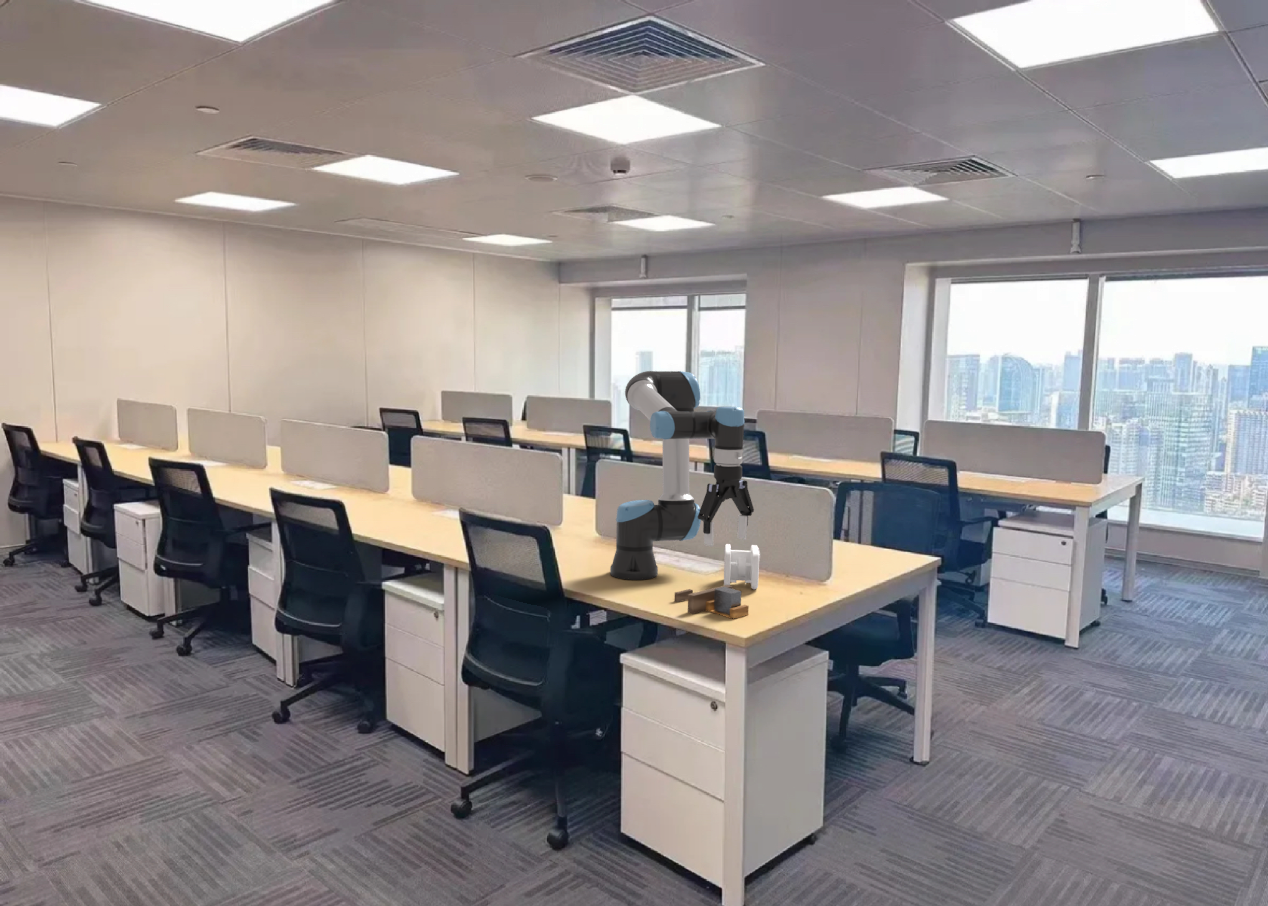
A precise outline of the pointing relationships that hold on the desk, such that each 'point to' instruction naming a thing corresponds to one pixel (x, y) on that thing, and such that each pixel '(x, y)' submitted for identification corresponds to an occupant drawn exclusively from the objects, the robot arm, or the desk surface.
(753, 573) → the cable organizer
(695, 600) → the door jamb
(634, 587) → the desk surface
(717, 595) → the block
